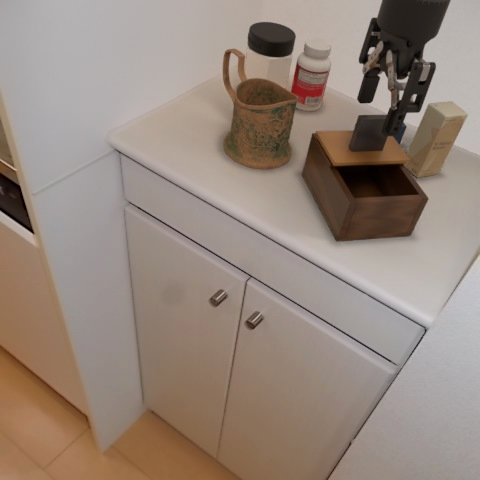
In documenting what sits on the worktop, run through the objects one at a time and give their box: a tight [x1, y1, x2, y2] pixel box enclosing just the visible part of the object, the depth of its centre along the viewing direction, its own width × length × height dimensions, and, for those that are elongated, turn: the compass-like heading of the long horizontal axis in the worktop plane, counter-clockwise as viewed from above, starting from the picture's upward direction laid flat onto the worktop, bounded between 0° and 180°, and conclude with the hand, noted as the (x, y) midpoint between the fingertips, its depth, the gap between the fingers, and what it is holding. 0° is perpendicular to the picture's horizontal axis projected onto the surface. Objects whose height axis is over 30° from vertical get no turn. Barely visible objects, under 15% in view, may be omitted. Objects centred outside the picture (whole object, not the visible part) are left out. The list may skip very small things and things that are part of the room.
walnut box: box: [301, 132, 429, 242], centre depth 78 cm, size 12×16×7 cm
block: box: [393, 122, 408, 146], centre depth 93 cm, size 4×4×4 cm
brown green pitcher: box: [222, 48, 298, 170], centre depth 84 cm, size 12×18×12 cm, turn 33°
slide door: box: [314, 114, 411, 166], centre depth 75 cm, size 12×8×6 cm, turn 104°
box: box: [404, 100, 469, 178], centre depth 86 cm, size 5×4×11 cm
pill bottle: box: [290, 37, 332, 112], centre depth 95 cm, size 6×6×11 cm
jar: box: [244, 21, 297, 89], centre depth 94 cm, size 9×8×12 cm
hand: (375, 117), depth 72 cm, fingers open, 8 cm apart
